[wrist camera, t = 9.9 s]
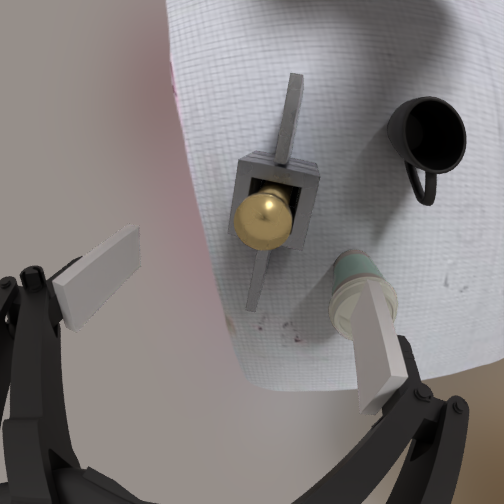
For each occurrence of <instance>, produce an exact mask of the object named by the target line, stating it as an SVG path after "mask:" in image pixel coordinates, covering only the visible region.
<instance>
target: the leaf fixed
mask: <svg viewBox="0 0 504 504" xmlns="http://www.w3.org/2000/svg"><path fill="white" fill-rule="evenodd" d="M252 153H253V154H258V155H264V156H269V157H274V158H275V154H271V153H266V152H260V151H254V152H252ZM288 161H293V162H298V163H302V164H306V165H311V166H315V167H317V164H316V163H312V162H308V161H304V160H299V159H295V158H289V160H288ZM255 178H259V183H258V188H257V193H258V192H259V190H260V189H261V184H262V179H264V180H269V181H274V182H278V183H283V184H288V185H292V186H297V187H299V189H300V187H301V189H300V194H299V190H298V194H299V198H298V195H297V198H298V203H297V199H296V203H297V207H296V204H295V207H296V211H295V207H292V206H289V208H290V211H291V214H292V215H294V212H295V216H294V220H293V224H292V227H291V232H290V235H289V237H288V238H287V240H286V241H285V242H284V243H283V244H282V245H281V246H284V247H288V248H292V249H297V250H301V251H302V248H303V245H304V241H305V237H306V233H307V229H308V225H309V221H310V218H311V214H312V210H313V206H314V201H315V197H316V193H317V189H318V185H319V181H320V174H319V172H318V171H314V170H310V169H305V168H301V167H297V166H292V165H287V164H281V163H277V162H273V161H268V160H263V159H258V158H252V157H247V156H244V157H242V158H240V159H239V160H238V167H237V173H236V180H235V186H234V193H233V200H232V207H231V214H230V221H229V228H228V234H231V235H235V236H238V235H237V233H236V231H235V228H234V215H235V212H236V210H237V208H238V207H239V205H240V204H241V203H242V202H243V201H244V200H245V199H246V198H247V197H248V196H250V195H252V194H253V189H254V183H255ZM270 254H271V250H265V251H264V250H257V254H256V259H255V264H254V269H253V274H252V279H251V285H250V290H249V295H248V300H247V305H246V310H247V311H251V312H255V311H256V308H257V304H258V300H259V297H260V293H261V290H262V286H263V283H264V279H265V275H266V272H267V267H268V263H269V258H270Z"/></svg>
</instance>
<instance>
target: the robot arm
mask: <svg viewBox="0 0 504 504" xmlns="http://www.w3.org/2000/svg"><path fill="white" fill-rule="evenodd" d="M139 234H140V233H139V226H136V225H132V224H128V225H126V226H125V227H123V228H122V229H120V230H119V231H118V232H116V233H115V234H113V235H112V236H110V237H109V238H108V239H106V240H105V241H103V242H102V243H101V244H99V245H98V246H97V247H95V248H94V249H93V250H91V251H90V252H89V253H87V254H86V255H84V256H81V257H78V258H76V259H74V260H72V261H71V262H70V263H68V264H67V266H64V267H63V268H62V269H61V270H59V271H58V272H57V273H55V274H54V275H53V276H52V277H50V278H49V279H48V280H47V281H46V279H45V275H44V271H43V269H42V267H40V266H30V267H27V268H26V269H24V270H23V271H22V272H21V273H20V278H21V282H22V285H23V287H22V286H18V285H17V281H16V279H15V278H14V277H11V276H9V277H4V278H2V279H1V280H0V426H1V421H2V416H3V411H4V406H5V402H6V398H7V394H8V390H9V386H10V418H9V419H7V420H4V422H3V427H2V430H3V446H4V457H5V465H6V471H7V478H8V482H5V483H0V504H156V503H151V502H145V501H142V500H140V499H138V498H137V497H135V496H134V495H132V494H131V493H130V492H129V491H127V490H126V489H125V488H123V487H122V486H121V485H119V484H118V483H117V482H116V481H114V480H113V479H110V478H109V477H107V476H105V475H103V474H101V473H99V472H98V471H96V470H94V469H92V468H91V467H88V468H87V469H81V467H80V464H79V461H78V459H77V457H76V455H75V453H74V451H73V449H72V445H71V440H70V435H69V430H68V424H67V418H66V410H65V403H64V394H63V384H62V369H61V339H60V338H61V333H60V332H61V331H60V330H61V328H60V324H59V322H60V321H61V320H62V319H63V320H64V323H65V326H66V327H67V328H68V329H70V330H72V331H74V332H76V333H77V332H78V331H79V330H80V329H81V328H82V327H83V326H84V325H85V324H86V323H87V321H88V320H89V319H90V318H91V317H92V316H93V315H94V314H95V313H96V311H97V310H99V308H100V307H101V306H102V305H103V304H104V303H105V302H106V301H107V300H108V299H109V298H110V297H111V296H112V295H113V294H114V293H115V292H116V291H117V290H118V289H119V288H120V287H121V286H122V284H123V283H124V282H125V281H126V280H127V279H128V278H129V277H130V276H131V275H132V274H133V273H134V272H135V271H136V270H137V269H138V268H139V267H141V261H140V235H139ZM6 315H7V318H8V320H7V322H5V317H6ZM350 322H351V329H352V337H353V345H354V353H355V362H356V372H357V383H358V396H359V411H360V414H366V415H376V414H377V413H378V411H379V410H380V409H381V408H382V413H383V416H382V417H381V418H380V419H379V420H378V421H377V422H376V423H375V424H374V425H373V426H372V428H371V429H370V430H369V432H368V433H367V434H366V435H365V436H364V437H363V438H362V439H361V441H360V442H359V443H358V444H357V445H356V446H355V447H354V448H353V449H352V450H351V451H350V452H349V453H348V454H347V455H346V456H345V458H343V459H342V460H341V461H340V462H339V463H338V464H337V465H336V466H335V467H334V468H333V469H332V470H331V471H330V472H328V473H327V474H326V475H325V476H324V477H323V478H322V479H321V480H320V481H318V482H317V483H316V484H315V485H314V486H313V487H311V488H310V489H309V490H308V491H307V492H306V493H304V494H303V495H302V496H301V497H299V498H298V499H297V500H295V501H294V502H293V503H291V504H361V503H362V502H363V501H364V500H365V499H366V498H367V497H368V495H369V494H370V493H371V492H372V491H373V489H374V488H375V487H376V486H377V485H378V484H379V482H380V481H381V480H382V479H383V478H384V476H385V475H386V474H387V472H388V471H389V470H390V469H391V467H392V466H393V464H394V463H395V462H396V460H397V459H398V458H399V456H400V455H401V453H402V452H403V451H404V449H405V448H406V446H407V444H408V443H409V442H410V440H411V439H412V442H411V444H410V447H409V450H408V453H407V456H406V458H405V461H404V464H403V466H402V469H401V471H400V474H399V476H398V478H397V481H396V483H395V485H394V487H393V490H392V492H391V494H390V496H389V498H388V500H387V502H386V504H451V501H452V498H453V495H454V491H455V488H456V484H457V480H458V476H459V472H460V468H461V463H462V458H463V453H464V448H465V441H466V435H467V428H468V420H469V407H468V404H467V402H466V401H465V400H464V399H463V398H461V397H460V396H452V397H451V398H449V399H448V401H443V400H440V399H437V398H435V397H433V393H432V391H431V389H430V388H429V387H428V386H427V385H425V384H423V383H421V379H420V376H419V372H418V369H417V365H416V362H415V360H414V359H415V358H414V355H413V354H412V349H411V345H410V343H409V342H408V341H407V339H406V338H405V336H401V335H397V334H396V331H395V327H394V324H393V321H392V318H391V315H390V312H389V309H388V306H387V303H386V300H385V297H384V294H383V291H382V288H381V285H380V283H379V282H376V281H372V280H368V279H367V281H366V283H365V285H364V288H363V290H362V292H361V295H360V297H359V299H358V301H357V304H356V306H355V308H354V310H353V312H352V315H351V317H350ZM10 382H11V384H10Z"/></svg>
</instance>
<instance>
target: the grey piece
mask: <svg viewBox="0 0 504 504" xmlns="http://www.w3.org/2000/svg"><path fill="white" fill-rule="evenodd" d="M303 90H304V78H303V75H301V74H295V73H290V78H289V84H288V89H287V95H286V100H285V105H284V111H283V116H282V122H281V127H280V132H279V138H278V143H277V148H276V154H275V158H274V157H269V156H264V155H258V154H253V153H250V154H248V155H246V156H247V157H252V158H258V159H263V160H268V161H273V162H277V163H281V164H287V165H292V166H297V167H301V168H305V169H310V170H314V171H318V167H315V166H311V165H306V164H302V163H298V162H293V161H288V160H289V158H290V156H291V153H292V148H293V143H294V138H295V133H296V127H297V122H298V117H299V112H300V106H301V101H302V96H303ZM318 172H319V171H318ZM258 183H259V178H255V183H254V189H253V194H255V193H257V188H258ZM300 189H301V187H300ZM300 189H299V194H300ZM299 194H298V198H299ZM298 198H297V203H298ZM297 203H296V207H297ZM296 207H295V211H296ZM294 216H295V212H294V215H292V224H293V220H294Z"/></svg>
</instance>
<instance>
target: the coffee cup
mask: <svg viewBox="0 0 504 504" xmlns="http://www.w3.org/2000/svg"><path fill="white" fill-rule="evenodd" d="M367 279H368V280H372V281H376V282H379V283H380V285H381V288H382V291H383V294H384V297H385V300H386V303H387V306H388V309H389V312H390V315H391V318H392V321H393V323H394V321H395V319H396V314H397V308H398V300H397V294H396V292H395V290H394V288H393V287H392V286H391V285H390V284H389V283H388V282H386V280H385V279H384V277H383V276H382V274H381V273H380V272H379V270H378V269H377V267H376V266H375V264H374V263H373V262H372V260H371V259H370V257H369V256H368V255H367V254H366V253H365V252H363V251H360V250H349V251H346V252H344V253H342V254H341V255H340V256H339V257H338V258H337V260H336V262H335V265H334V276H333V289H332V298H331V301H330V303H329V309H328V311H329V317H330V320H331V322H332V324H333V326H334V327H335V329H336V330H337V331H338V333H339V334H340V335H342V336H343V337H344V338H346V339H349V340H352V341H353V337H352V329H351V322H350V317H351V315H352V312H353V310H354V308H355V306H356V304H357V301H358V299H359V297H360V295H361V292H362V290H363V288H364V285H365V283H366V281H367Z"/></svg>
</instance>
